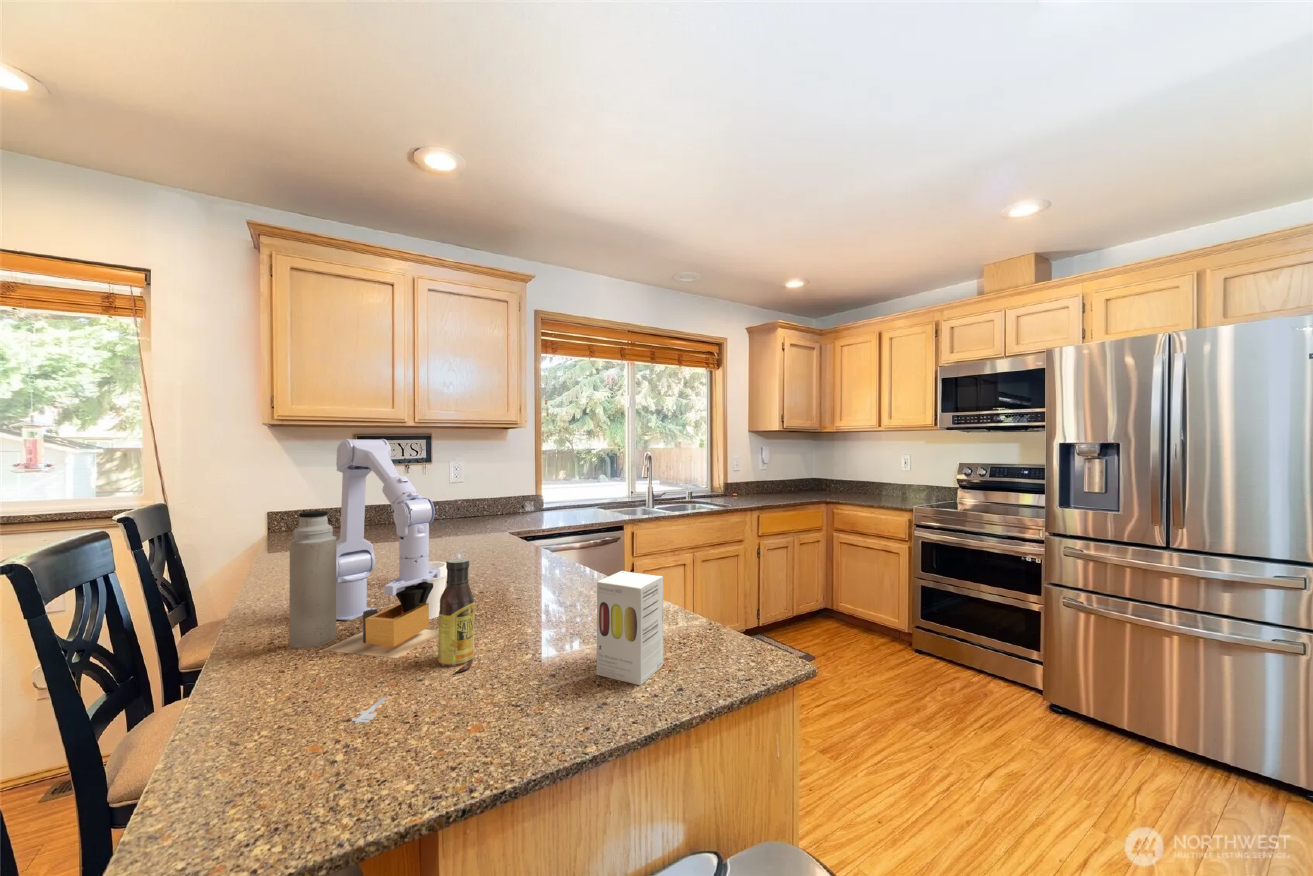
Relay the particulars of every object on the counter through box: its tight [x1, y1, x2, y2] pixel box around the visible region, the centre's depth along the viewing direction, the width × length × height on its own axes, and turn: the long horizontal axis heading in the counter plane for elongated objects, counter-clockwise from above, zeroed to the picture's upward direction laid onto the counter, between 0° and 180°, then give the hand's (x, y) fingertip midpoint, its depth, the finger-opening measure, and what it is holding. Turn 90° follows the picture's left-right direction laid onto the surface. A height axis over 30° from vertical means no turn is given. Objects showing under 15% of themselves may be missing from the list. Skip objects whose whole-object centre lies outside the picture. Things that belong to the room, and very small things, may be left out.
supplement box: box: [595, 570, 664, 686], centre depth 92 cm, size 10×9×17 cm
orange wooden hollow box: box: [365, 602, 430, 647], centre depth 102 cm, size 10×6×5 cm, turn 166°
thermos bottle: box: [288, 510, 337, 649], centre depth 103 cm, size 8×8×28 cm
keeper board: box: [323, 608, 439, 659], centre depth 103 cm, size 17×14×8 cm
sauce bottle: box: [437, 557, 476, 673], centre depth 94 cm, size 6×6×20 cm
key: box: [351, 697, 388, 724], centre depth 81 cm, size 12×1×3 cm
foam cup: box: [426, 561, 447, 620], centre depth 118 cm, size 10×9×13 cm
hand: (414, 619), depth 107 cm, fingers closed on orange wooden hollow box
